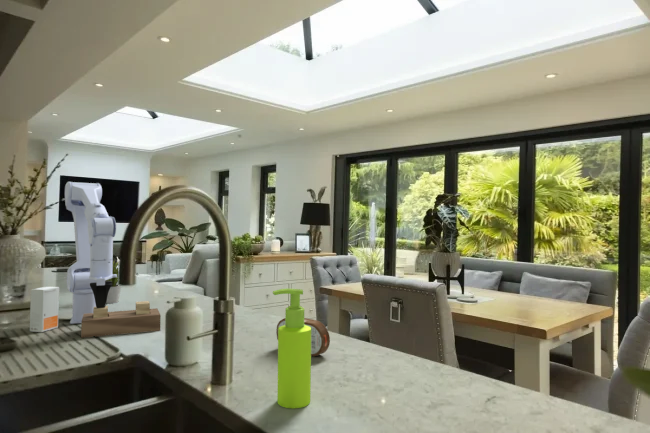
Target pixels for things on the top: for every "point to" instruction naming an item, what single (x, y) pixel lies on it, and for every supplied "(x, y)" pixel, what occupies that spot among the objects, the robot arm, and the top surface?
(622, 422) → the top surface
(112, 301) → the house plant
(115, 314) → the walnut block
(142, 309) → the far maple peg
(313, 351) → the tin
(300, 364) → the soap dispenser
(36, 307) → the skincare box
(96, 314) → the near maple peg
